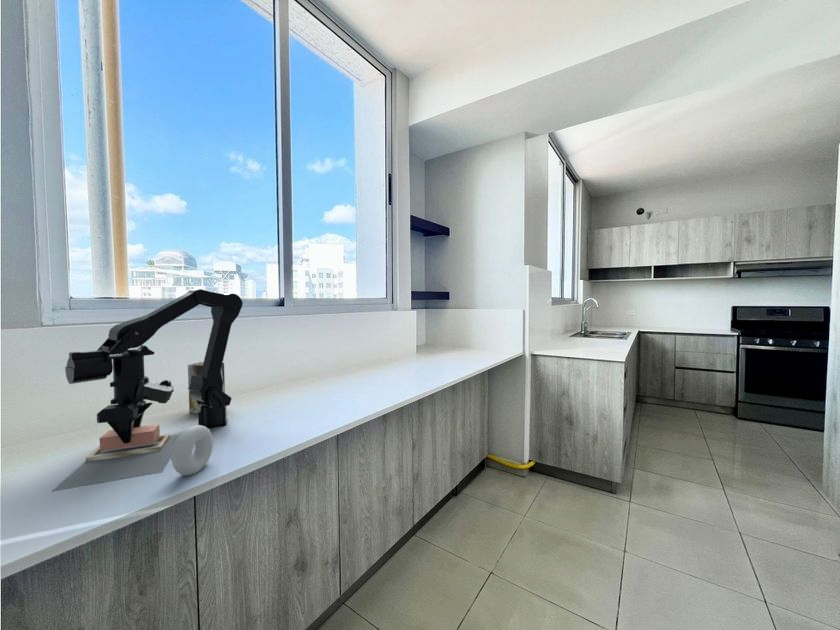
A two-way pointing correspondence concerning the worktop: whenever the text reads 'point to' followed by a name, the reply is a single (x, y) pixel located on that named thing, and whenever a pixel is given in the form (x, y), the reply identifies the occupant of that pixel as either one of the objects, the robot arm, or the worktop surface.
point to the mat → (121, 466)
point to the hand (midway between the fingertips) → (131, 438)
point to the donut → (184, 447)
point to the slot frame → (128, 451)
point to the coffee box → (192, 370)
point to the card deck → (138, 437)
